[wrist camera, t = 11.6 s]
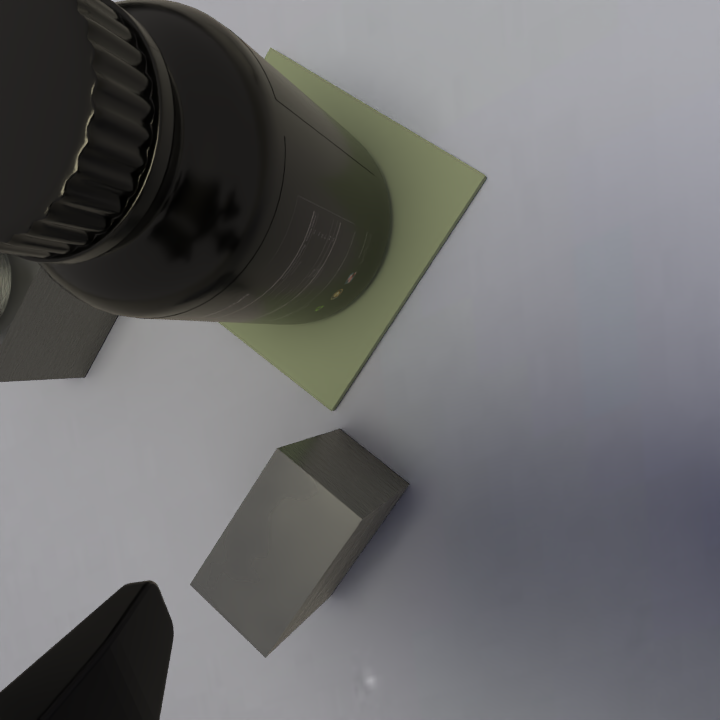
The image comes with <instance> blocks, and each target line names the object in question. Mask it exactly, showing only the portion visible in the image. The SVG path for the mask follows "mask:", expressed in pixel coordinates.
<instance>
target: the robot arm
mask: <svg viewBox="0 0 720 720" xmlns="http://www.w3.org/2000/svg"><path fill="white" fill-rule="evenodd" d="M173 636H174V631H173V623H172V620H171V617H170V615H169V612H168V610H167V607H166V605H165V602H164V600H163V597H162V595H161V592H160V589H159V587H158V586H157V584H156V583H155V582H153V581H142V582H134V583H129V584H126V585H124V586H123V587H121V588H120V589H119V590H118V591H117V592H116V593H114V594H113V595H112V596H111V597H110V598H109V599H108V600H106V601H105V602H104V603H103V604H102V605H101V606H99V607H98V608H97V609H96V610H95V611H94V612H92V613H91V614H90V615H89V616H88V617H87V618H86V619H84V620H83V621H82V622H81V623H80V624H79V625H77V626H76V627H75V628H74V629H73V630H72V631H70V632H69V633H68V634H67V635H66V636H65V637H64V638H62V639H61V640H60V641H59V642H58V643H57V644H55V645H54V646H53V647H52V648H51V649H50V650H48V651H47V652H46V653H45V654H44V655H43V656H42V657H40V658H39V659H38V660H37V661H36V662H35V663H33V664H32V665H31V666H30V667H29V668H28V669H26V670H25V671H24V672H23V673H22V674H21V675H19V676H18V677H17V678H16V679H15V680H14V681H13V682H11V683H10V684H9V685H8V686H7V687H6V688H4V689H3V690H2V691H1V692H0V720H159V719H160V713H161V707H162V701H163V696H164V690H165V684H166V678H167V673H168V667H169V661H170V655H171V650H172V644H173Z"/></svg>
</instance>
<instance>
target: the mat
mask: <svg viewBox="0 0 720 720" xmlns="http://www.w3.org/2000/svg"><path fill="white" fill-rule="evenodd" d="M265 60H266V61H267V62H268V63H270V64H271V65H272V66H273V67H274V68H275V69H276V70H278V71H279V72H280V73H281V74H282V75H283V76H285V77H286V78H287V79H288V80H289V81H290V82H292V83H293V84H294V85H295V86H296V87H297V88H299V89H300V90H301V91H302V92H303V93H304V94H305V95H307V96H308V97H309V98H310V99H311V100H312V101H314V102H315V103H316V104H317V105H318V106H319V107H321V108H322V109H323V110H324V111H325V112H326V113H328V114H329V115H330V116H331V117H332V118H333V119H334V120H336V121H337V122H338V123H339V124H340V125H341V126H343V127H344V128H345V129H346V130H347V131H348V132H349V133H350V134H351V135H353V136H354V137H355V138H356V139H357V140H358V141H359V142H360V143H361V144H362V145H363V146H364V147H365V149H366V150H367V151H368V152H369V154H370V155H371V156H372V158H373V159H374V161H375V163H376V164H377V166H378V168H379V170H380V172H381V174H382V176H383V179H384V182H385V185H386V189H387V193H388V198H389V205H390V229H389V237H388V241H387V246H386V249H385V252H384V255H383V258H382V261H381V263H380V265H379V267H378V269H377V271H376V273H375V275H374V276H373V278H372V279H371V281H370V282H369V284H368V285H367V286H366V288H365V289H364V290H363V291H362V292H361V293H360V294H359V295H358V296H357V297H356V298H355V299H354V300H353V301H352V302H351V303H350V304H348V305H347V306H346V307H344V308H343V309H341V310H340V311H338V312H337V313H335V314H333V315H331V316H329V317H326V318H324V319H321V320H318V321H314V322H310V323H304V324H295V325H275V324H253V323H231V322H219V323H220V324H221V325H223V326H224V327H225V328H227V329H228V330H229V331H230V332H232V333H233V334H234V335H235V336H237V337H238V338H239V339H240V340H242V341H243V342H244V343H246V344H247V345H248V346H249V347H251V348H252V349H253V350H254V351H256V352H257V353H258V354H260V355H261V356H262V357H263V358H265V359H266V360H267V361H268V362H270V363H271V364H272V365H274V366H275V367H276V368H277V369H279V370H280V371H281V372H282V373H284V374H285V375H286V376H288V377H289V378H290V379H291V380H293V381H294V382H295V383H296V384H298V385H299V386H300V387H302V388H303V389H304V390H305V391H307V392H308V393H309V394H310V395H312V396H313V397H314V398H316V399H317V400H318V401H319V402H321V403H322V404H323V405H324V406H326V407H327V408H328V409H329V410H331V411H333V410H335V409H336V407H337V406H338V404H339V403H340V401H341V400H342V398H343V397H344V395H345V394H346V392H347V391H348V389H349V388H350V386H351V384H352V383H353V381H354V380H355V378H356V377H357V375H358V374H359V372H360V371H361V369H362V368H363V366H364V365H365V363H366V362H367V360H368V359H369V357H370V355H371V354H372V352H373V351H374V349H375V348H376V346H377V345H378V343H379V342H380V340H381V339H382V337H383V336H384V334H385V333H386V331H387V330H388V328H389V326H390V325H391V323H392V322H393V320H394V319H395V317H396V316H397V314H398V313H399V311H400V310H401V308H402V307H403V305H404V304H405V302H406V301H407V299H408V297H409V296H410V294H411V293H412V291H413V290H414V288H415V287H416V285H417V284H418V282H419V281H420V279H421V278H422V276H423V275H424V273H425V272H426V270H427V268H428V267H429V265H430V264H431V262H432V261H433V259H434V258H435V256H436V255H437V253H438V252H439V250H440V249H441V247H442V246H443V244H444V243H445V241H446V239H447V238H448V236H449V235H450V233H451V232H452V230H453V229H454V227H455V226H456V224H457V223H458V221H459V220H460V218H461V217H462V215H463V214H464V212H465V210H466V209H467V207H468V206H469V204H470V203H471V201H472V200H473V198H474V197H475V195H476V194H477V192H478V191H479V189H480V188H481V186H482V185H483V183H484V181H485V180H486V178H487V177H486V176H485V175H484V174H482V173H480V172H479V171H477V170H475V169H474V168H472V167H470V166H469V165H467V164H465V163H464V162H462V161H460V160H459V159H457V158H455V157H454V156H452V155H450V154H448V153H447V152H445V151H443V150H442V149H440V148H438V147H437V146H435V145H433V144H432V143H430V142H428V141H427V140H425V139H423V138H422V137H420V136H418V135H417V134H415V133H413V132H411V131H410V130H408V129H406V128H405V127H403V126H401V125H400V124H398V123H396V122H395V121H393V120H391V119H390V118H388V117H386V116H385V115H383V114H381V113H380V112H378V111H376V110H375V109H373V108H371V107H369V106H368V105H366V104H364V103H363V102H361V101H359V100H358V99H356V98H354V97H353V96H351V95H349V94H348V93H346V92H344V91H343V90H341V89H339V88H338V87H336V86H334V85H333V84H331V83H329V82H327V81H326V80H324V79H322V78H321V77H319V76H317V75H316V74H314V73H312V72H311V71H309V70H307V69H306V68H304V67H302V66H301V65H299V64H297V63H296V62H294V61H292V60H290V59H289V58H287V57H285V56H284V55H282V54H280V53H279V52H277V51H275V50H274V49H272V48H270V49H269V51H268V53H267V55H266V57H265Z"/></svg>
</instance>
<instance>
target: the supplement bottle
mask: <svg viewBox="0 0 720 720" xmlns="http://www.w3.org/2000/svg"><path fill="white" fill-rule="evenodd" d="M389 229H390V205H389V198H388V193H387V189H386V185H385V182H384V179H383V176H382V174H381V172H380V170H379V168H378V166H377V164H376V163H375V161H374V159H373V158H372V156H371V155H370V154H369V152H368V151H367V150H366V149H365V147H364V146H363V145H362V144H361V143H360V142H359V141H358V140H357V139H356V138H355V137H354V136H353V135H351V134H350V133H349V132H348V131H347V130H346V129H345V128H344V127H343V126H341V125H340V124H339V123H338V122H337V121H336V120H334V119H333V118H332V117H331V116H330V115H329V114H328V113H326V112H325V111H324V110H323V109H322V108H321V107H319V106H318V105H317V104H316V103H315V102H314V101H312V100H311V99H310V98H309V97H308V96H307V95H305V94H304V93H303V92H302V91H301V90H300V89H299V88H297V87H296V86H295V85H294V84H293V83H292V82H290V81H289V80H288V79H287V78H286V77H285V76H283V75H282V74H281V73H280V72H279V71H278V70H276V69H275V68H274V67H273V66H272V65H271V64H270V63H268V62H267V61H266V60H265V59H264V58H263V57H261V56H260V55H259V54H258V53H257V52H256V51H254V50H253V49H252V48H251V47H250V46H249V45H247V44H246V43H245V42H244V41H243V40H242V39H240V38H239V37H238V36H237V35H236V34H235V33H233V32H232V31H231V30H230V29H228V28H227V27H225V26H224V25H223V24H221V23H220V22H218V21H217V20H215V19H214V18H212V17H211V16H209V15H208V14H206V13H204V12H202V11H200V10H198V9H195V8H193V7H190V6H187V5H184V4H181V3H178V2H173V1H168V0H125V1H119V2H113V1H111V0H0V253H1V254H8V255H14V256H17V257H19V258H22V259H25V260H29V261H34V262H37V263H38V264H39V266H40V267H41V268H42V269H43V270H44V271H45V272H46V274H47V275H48V276H49V277H50V278H51V279H52V280H53V281H54V282H56V283H57V284H58V285H59V286H60V287H61V288H62V289H64V290H65V291H66V292H68V293H69V294H70V295H72V296H73V297H75V298H76V299H78V300H80V301H81V302H83V303H85V304H87V305H89V306H91V307H94V308H96V309H98V310H101V311H104V312H107V313H110V314H114V315H120V316H127V317H135V318H144V319H165V320H187V321H209V322H231V323H253V324H275V325H295V324H304V323H310V322H314V321H318V320H321V319H324V318H326V317H329V316H331V315H333V314H335V313H337V312H338V311H340V310H341V309H343V308H344V307H346V306H347V305H348V304H350V303H351V302H352V301H353V300H354V299H355V298H356V297H357V296H358V295H359V294H360V293H361V292H362V291H363V290H364V289H365V288H366V286H367V285H368V284H369V282H370V281H371V279H372V278H373V276H374V275H375V273H376V271H377V269H378V267H379V265H380V263H381V261H382V258H383V255H384V252H385V249H386V246H387V241H388V237H389Z"/></svg>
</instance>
